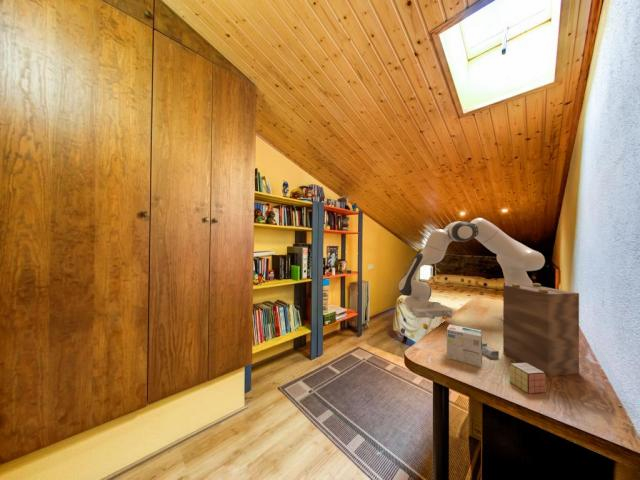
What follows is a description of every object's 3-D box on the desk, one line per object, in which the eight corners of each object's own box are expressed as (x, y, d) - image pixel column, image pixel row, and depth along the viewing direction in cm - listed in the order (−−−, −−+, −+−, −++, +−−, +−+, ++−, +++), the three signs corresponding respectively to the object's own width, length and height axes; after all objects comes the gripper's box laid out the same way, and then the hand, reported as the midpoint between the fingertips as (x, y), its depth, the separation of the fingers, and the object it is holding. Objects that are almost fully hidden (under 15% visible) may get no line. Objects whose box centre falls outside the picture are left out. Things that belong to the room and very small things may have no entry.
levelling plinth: (530, 351, 89) (530, 281, 89) (579, 373, 74) (578, 290, 74) (503, 353, 87) (503, 282, 88) (547, 376, 73) (547, 291, 73)
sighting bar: (453, 333, 108) (453, 325, 108) (498, 359, 84) (498, 348, 84) (447, 333, 107) (447, 325, 107) (491, 359, 83) (491, 349, 83)
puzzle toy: (525, 380, 70) (525, 362, 70) (546, 392, 65) (546, 372, 65) (509, 381, 70) (509, 363, 70) (528, 394, 64) (528, 373, 64)
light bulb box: (482, 359, 83) (482, 329, 83) (481, 368, 77) (482, 336, 77) (448, 351, 89) (448, 323, 89) (446, 358, 84) (446, 328, 84)
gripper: (407, 303, 125) (422, 311, 111) (441, 302, 128) (460, 309, 114) (407, 315, 125) (422, 324, 111) (441, 313, 128) (460, 322, 114)
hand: (442, 316), depth 113 cm, fingers open, 8 cm apart
